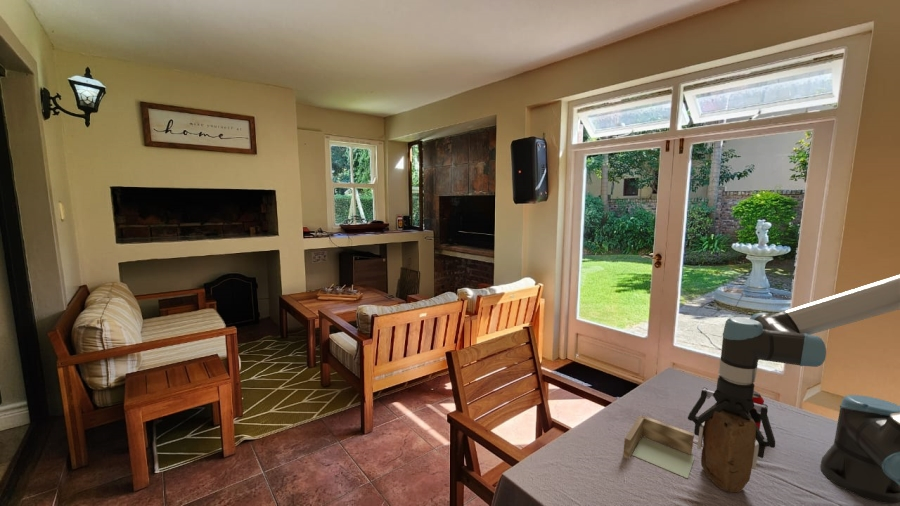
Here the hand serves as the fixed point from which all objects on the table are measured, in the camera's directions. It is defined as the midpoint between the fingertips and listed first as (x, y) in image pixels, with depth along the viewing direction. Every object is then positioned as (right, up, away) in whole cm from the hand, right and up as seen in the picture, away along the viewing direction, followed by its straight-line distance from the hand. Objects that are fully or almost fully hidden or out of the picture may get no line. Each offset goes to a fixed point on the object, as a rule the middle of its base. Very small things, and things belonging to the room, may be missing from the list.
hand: (725, 456), depth 101 cm
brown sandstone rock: (0, -7, +1) cm, 7 cm away
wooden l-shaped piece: (-12, -5, +11) cm, 17 cm away
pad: (-11, -5, +10) cm, 16 cm away
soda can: (+24, -4, +25) cm, 35 cm away
